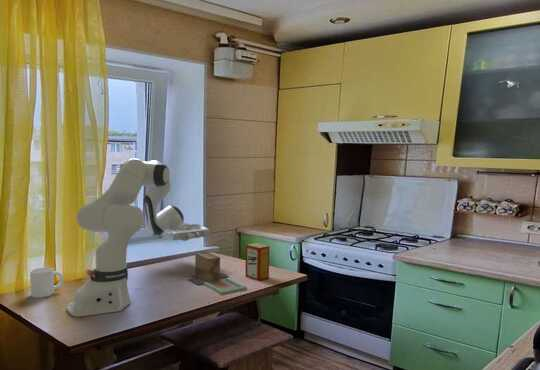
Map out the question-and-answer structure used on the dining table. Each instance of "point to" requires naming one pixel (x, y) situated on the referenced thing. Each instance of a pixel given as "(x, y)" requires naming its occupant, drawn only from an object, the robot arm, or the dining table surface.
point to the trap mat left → (197, 281)
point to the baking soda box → (257, 261)
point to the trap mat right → (223, 276)
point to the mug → (43, 282)
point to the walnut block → (207, 266)
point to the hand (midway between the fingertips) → (196, 236)
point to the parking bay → (240, 287)
